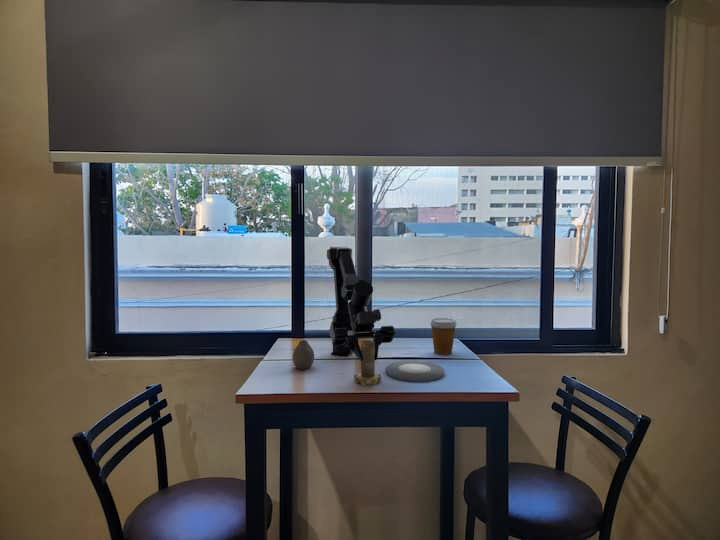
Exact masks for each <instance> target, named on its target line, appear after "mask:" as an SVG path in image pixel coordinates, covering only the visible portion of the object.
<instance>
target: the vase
mask: <svg viewBox="0 0 720 540" xmlns="http://www.w3.org/2000/svg"><path fill="white" fill-rule="evenodd" d="M292 362H293V365H294V366H295V368H297V369H298V370H309V369H310V368H311V367H312V366H313V364H314V362H315V352H314V349H313V348H312V346H311V345H310V344H309V342H308V340H305V339H301V340H299V342H298V343H297V345H296V347H295V348H294V350H293V353H292Z"/></svg>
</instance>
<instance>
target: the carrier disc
mask: <svg viewBox="0 0 720 540" xmlns="http://www.w3.org/2000/svg"><path fill="white" fill-rule="evenodd" d="M385 374H386V376H388V377H390V378H393V379H395V380H399V381H405V382H417V383H418V382H419V383H420V382H421V383H422V382H431V381H437V380H440V379H441V378H443V377H444V376H445V369H444V368H443V366H441V365H439V364H436V363H432V362H428V361H420V360H419V361H417V360H403V361H396V362H393V363H389V364H388V365H386V366H385Z"/></svg>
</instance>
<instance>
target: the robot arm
mask: <svg viewBox="0 0 720 540" xmlns="http://www.w3.org/2000/svg"><path fill="white" fill-rule="evenodd" d="M326 259H327V260H328V266H329V267H330V268H331V270H332V271H333V280H334V281H333V282H334V294H335V295H334V297H335V311H334V314H333V316H332V317H331V318H332V321H331V324H330V327H329V336H330V337H331V343H332V352H330V355H332V354H333V355H335V356H342V355H343V357H344V356H345V357H348V356H350V355H351V354H353V353H354V355H355V356H356V357H357V358H358V361H360V362H361V361H363V357H362V353H361V345H360V343H359V339H360V340H361V339H371V341H373V342H375V361H377V360H378V354H379V348H380V346H381V345H382V344H386V343H387V344H388V343H389V344H390V343H391V342H393V339H394V338H395V335H396V333H397V332H396V328H395V326H393V325H382V326H380V329H379V330H373V329H374V328H375V323H377V322H380V321H381V320H382V314H381V310H380V309H378V308H377V309H373V311H370V310H369V311H368V307H367V306H368V305H370V302H371V299H372V296H373V293H374V286H373V285H372V284H370V283H369V282H367V281H365V278H361V277H359V276H358V274H357V271H356V267H355V264H354V259H353V249H352V248H350V247H348V246H330V247H329V248H328V249H327V250H326ZM333 355H332V356H333Z"/></svg>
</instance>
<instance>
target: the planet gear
mask: <svg viewBox="0 0 720 540" xmlns="http://www.w3.org/2000/svg"><path fill="white" fill-rule="evenodd" d="M360 349H361V353H362V357H363V361H360V373H355V374H353V375H354V377H353V380H354V383H355V384H360V385H361V386H366V385H368V386H369V385H370V384H371V385H372V386H376V384H382V376H381V373H375V369H376V368H375V367H376V365H375V364H376V363H375V361H376V360H375V342H373V340H363V341H361V342H360Z"/></svg>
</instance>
